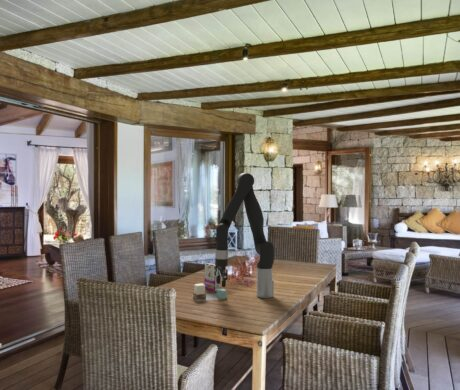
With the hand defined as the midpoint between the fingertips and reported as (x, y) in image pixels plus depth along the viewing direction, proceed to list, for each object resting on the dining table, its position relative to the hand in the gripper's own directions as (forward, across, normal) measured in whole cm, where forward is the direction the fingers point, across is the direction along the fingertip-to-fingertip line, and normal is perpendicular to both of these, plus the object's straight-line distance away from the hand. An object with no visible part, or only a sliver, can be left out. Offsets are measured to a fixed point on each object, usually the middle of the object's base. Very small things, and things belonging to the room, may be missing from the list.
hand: (220, 285), depth 233 cm
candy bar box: (+8, +21, -2) cm, 23 cm away
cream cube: (+5, +4, +12) cm, 13 cm away
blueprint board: (+8, +4, +6) cm, 11 cm away
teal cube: (+7, 0, -1) cm, 7 cm away
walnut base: (+8, +4, +12) cm, 15 cm away
